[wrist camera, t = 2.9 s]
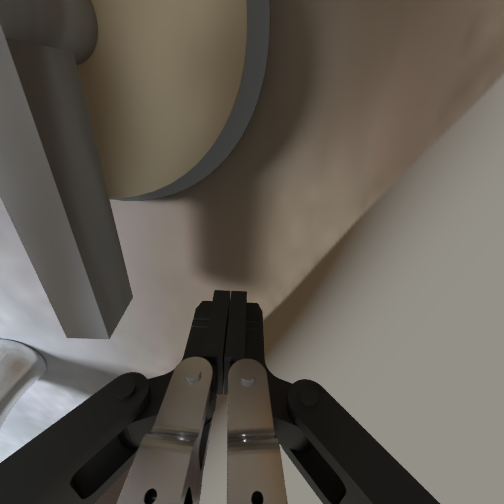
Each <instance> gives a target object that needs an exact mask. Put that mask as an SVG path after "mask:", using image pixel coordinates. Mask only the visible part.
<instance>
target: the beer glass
mask: <svg viewBox="0 0 504 504" xmlns="http://www.w3.org/2000/svg"><path fill="white" fill-rule="evenodd" d="M45 370H46V363H45V361H44V359H43V357H42V356H41V355H40V354H39V353H38V352H36V351H35V350H33V349H32V348H30V347H28V346H26V345H24V344H21V343H18V342H15V341H11V340H5V339H0V428H1V426H2V424H3V423H4V421H5V419H6V417H7V416H8V414H9V413H10V411H11V410H12V408H13V407H14V405H15V404H16V403H17V401H18V400H19V399H20V398H21V396H22V395H23V394H24V393H25V392H26V391H27V390H28V389H29V388H30V387H31V386H32V385H33V384H34V383H35V382H36V381H37V380H38V379H39V378H40V377H41V376H42V374H43V373H44V372H45Z"/></svg>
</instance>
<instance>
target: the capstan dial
mask: <svg viewBox="0 0 504 504" xmlns="http://www.w3.org/2000/svg"><path fill="white" fill-rule="evenodd" d="M246 46H247V5H246V0H0V197H1V199H2V201H3V203H4V205H5V208H6V210H7V212H8V214H9V216H10V218H11V220H12V222H13V225H14V227H15V229H16V231H17V233H18V235H19V237H20V239H21V241H22V244H23V246H24V248H25V250H26V252H27V254H28V256H29V258H30V261H31V263H32V265H33V267H34V269H35V271H36V273H37V275H38V277H39V280H40V282H41V284H42V286H43V288H44V290H45V292H46V294H47V297H48V299H49V301H50V303H51V305H52V307H53V309H54V311H55V313H56V316H57V318H58V320H59V322H60V324H61V326H62V328H63V330H64V332H65V335H66V337H67V338H88V339H110V337H111V335H112V334H113V332H114V330H115V328H116V326H117V325H118V323H119V321H120V319H121V318H122V316H123V314H124V312H125V310H126V309H127V307H128V305H129V303H130V301H131V300H132V298H133V295H132V291H131V287H130V283H129V279H128V275H127V271H126V267H125V262H124V258H123V254H122V250H121V246H120V242H119V238H118V234H117V230H116V225H115V221H114V217H113V213H112V209H111V205H110V201H109V198H127V197H134V196H139V195H143V194H146V193H150V192H153V191H156V190H158V189H160V188H163V187H165V186H167V185H169V184H171V183H172V182H174V181H176V180H177V179H179V178H180V177H182V176H183V175H185V174H186V173H187V172H188V171H189V170H191V169H192V168H193V167H194V166H195V165H196V164H197V163H198V162H199V161H200V160H201V159H202V158H203V157H204V155H205V154H206V153H207V152H208V151H209V150H210V148H211V147H212V145H213V144H214V142H215V141H216V139H217V138H218V136H219V135H220V133H221V131H222V130H223V128H224V127H225V125H226V123H227V121H228V119H229V116H230V114H231V112H232V110H233V108H234V105H235V102H236V99H237V96H238V93H239V89H240V86H241V81H242V76H243V71H244V66H245V57H246Z"/></svg>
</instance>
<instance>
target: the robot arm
mask: <svg viewBox="0 0 504 504" xmlns="http://www.w3.org/2000/svg"><path fill="white" fill-rule="evenodd" d="M246 302H247V292H246V291H231V300H230V291H222V290H215V291H214V296H213V301H202V302H201V303H200V305H199V306H198V307H197V308H196V311H195V314H194V319H193V322H192V327H191V330H190V334H189V337H188V341H187V345H186V349H185V353H184V356H183V359H182V361H181V362H180V363H179V364H178V365H177V366H176V368H175V369H174V370H173V371H171V372H169V373H167V374H165V375H162V376H158V377H154V378H151V379H146V377H145V376H144V375H142V374H140V373H136V372H130V373H126V374H123V375H121V376H119V377H117V378H116V379H114V380H113V381H112V382H110V383H109V384H107V385H106V386H105V387H103V388H102V389H101V390H99V391H98V392H96V393H95V394H94V395H92V396H91V397H90V398H88V399H87V400H86V401H84V402H83V403H81V404H80V405H79V406H77V407H76V408H75V409H73V410H72V411H71V412H69V413H68V414H66V415H65V416H64V417H62V418H61V419H60V420H58V421H57V422H56V423H54V424H53V425H51V426H50V427H49V428H47V429H46V430H45V431H43V432H42V433H41V434H39V435H38V436H36V437H35V438H34V439H32V440H31V441H30V442H28V443H27V444H26V445H24V446H23V447H21V448H20V449H19V450H17V451H16V452H15V453H13V454H12V455H11V456H9V457H8V458H6V459H5V460H4V461H2V462H1V463H0V504H94V503H95V502H96V501H97V500H98V499H99V498H100V497H101V496H102V495H103V494H104V493H105V492H106V491H107V490H108V489H109V488H110V487H111V486H112V485H113V484H114V483H115V482H116V481H117V480H118V479H119V478H120V477H121V476H122V475H123V474H124V472H126V471H127V469H128V468H129V467H131V468H130V471H129V474H128V476H127V479H126V482H125V484H124V487H123V489H122V492H121V494H120V497H119V499H118V502H117V504H199V501H200V495H201V487H202V477H203V470H204V465H205V459H206V454H207V449H208V444H209V438H210V433H211V428H212V423H213V418H214V412H215V407H216V399H217V394H223V386H224V394H228V422H227V423H228V424H227V426H228V427H227V431H228V432H227V504H288V503H287V496H286V488H285V482H284V474H283V467H282V460H281V453H280V446H279V444H281V446H282V448H283V450H284V451H285V452H286V454H287V455H288V457H289V458H290V459H291V461H292V462H293V464H294V465H295V466H296V468H297V469H298V470H299V472H300V473H301V474H302V476H303V477H304V478H305V480H306V481H307V483H308V484H309V485H310V487H311V488H312V489H313V491H314V492H315V493H316V495H317V496H318V497H319V499H320V500H321V502H322V503H323V504H440V503H439V502H438V501H437V500H436V499H434V497H433V496H432V495H431V494H430V493H429V492H428V491H427V490H426V489H424V487H423V486H422V485H421V484H419V482H418V481H417V480H416V479H414V478H413V476H412V475H411V474H410V473H408V471H407V470H406V469H404V468H403V467H402V466H401V465H400V464H399V463H398V462H397V461H396V460H395V459H394V458H393V457H392V456H391V455H390V454H389V453H388V452H387V451H386V450H385V449H384V448H383V447H382V446H381V445H380V444H379V443H378V442H377V441H376V440H375V439H374V438H373V437H372V436H371V435H370V434H369V433H368V432H367V431H366V430H365V429H364V428H363V427H362V426H361V425H360V424H359V423H358V422H357V421H356V420H355V419H354V418H353V417H352V416H351V415H350V414H349V413H348V412H347V411H346V410H345V409H344V408H343V407H342V406H341V405H340V404H339V403H338V402H337V401H336V400H335V399H334V398H333V397H332V396H331V395H330V394H329V393H328V392H327V391H326V390H325V389H324V388H323V387H322V386H321V385H319V384H318V383H316V382H314V381H311V380H307V379H303V380H298V381H296V382H295V383H293V384H292V383H289V382H286V381H284V380H281V379H279V378H277V377H275V376H274V375H273V374H272V373H271V372H270V371H269V370H268V368H267V367H266V364H265V359H264V337H263V314H262V310H261V308H260V307H259V305H258V303H246Z"/></svg>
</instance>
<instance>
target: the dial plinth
mask: <svg viewBox="0 0 504 504" xmlns="http://www.w3.org/2000/svg"><path fill="white" fill-rule="evenodd" d="M246 5H247V46H246V57H245V66H244V71H243V76H242V81H241V86H240V89H239V93H238V96H237V99H236V102H235V105H234V108H233V110H232V112H231V114H230V116H229V119H228V121H227V123H226V125H225V127H224V128H223V130H222V131H221V133H220V135H219V136H218V138H217V139H216V141H215V142H214V144H213V145H212V147H211V148H210V150H209V151H208V152H207V153H206V154H205V155H204V157H203V158H202V159H201V160H200V161H199V162H198V163H197V164H196V165H195V166H194V167H193V168H192V169H191V170H189V171H188V172H187V173H186V174H185V175H183V176H182V177H180V178H179V179H177V180H176V181H174V182H172V183H171V184H169V185H167V186H165V187H163V188H160V189H158V190H156V191H153V192H150V193H146V194H143V195H139V196H134V197H127V198H109V199H113V200H122V201H143V200H150V199H157V198H161V197H165V196H169V195H172V194H175V193H178V192H180V191H182V190H185V189H187V188H189V187H191V186H193V185H194V184H196V183H198V182H199V181H201V180H202V179H204V178H205V177H207V176H208V175H209V174H210V173H211V172H213V171H214V170H215V169H216V168H217V167H218V166H219V165H220V164H221V163H222V162H223V161H224V160H225V159H226V158H227V156H228V155H229V154H230V153H231V152H232V150H233V149H234V147H235V146H236V144H237V143H238V141H239V140H240V139H241V137H242V135H243V133H244V131H245V129H246V127H247V125H248V124H249V122H250V120H251V118H252V115H253V112H254V110H255V107H256V104H257V101H258V99H259V96H260V92H261V88H262V84H263V79H264V75H265V71H266V64H267V56H268V48H269V33H270V4H269V0H246Z"/></svg>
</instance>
